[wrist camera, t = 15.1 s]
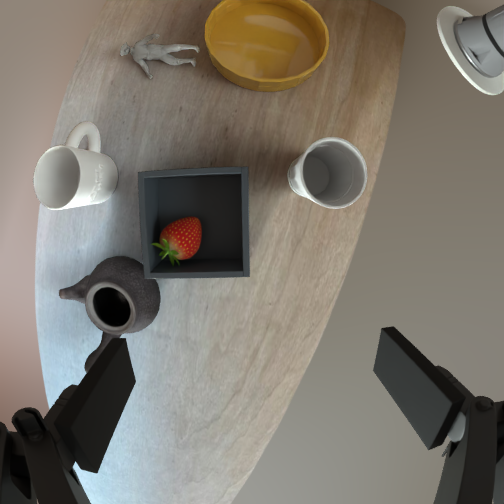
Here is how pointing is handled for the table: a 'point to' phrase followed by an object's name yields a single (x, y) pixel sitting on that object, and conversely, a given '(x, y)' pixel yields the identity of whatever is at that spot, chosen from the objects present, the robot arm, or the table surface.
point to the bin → (206, 210)
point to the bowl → (266, 42)
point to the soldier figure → (156, 52)
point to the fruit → (180, 239)
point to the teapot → (116, 299)
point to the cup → (329, 173)
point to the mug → (75, 172)
